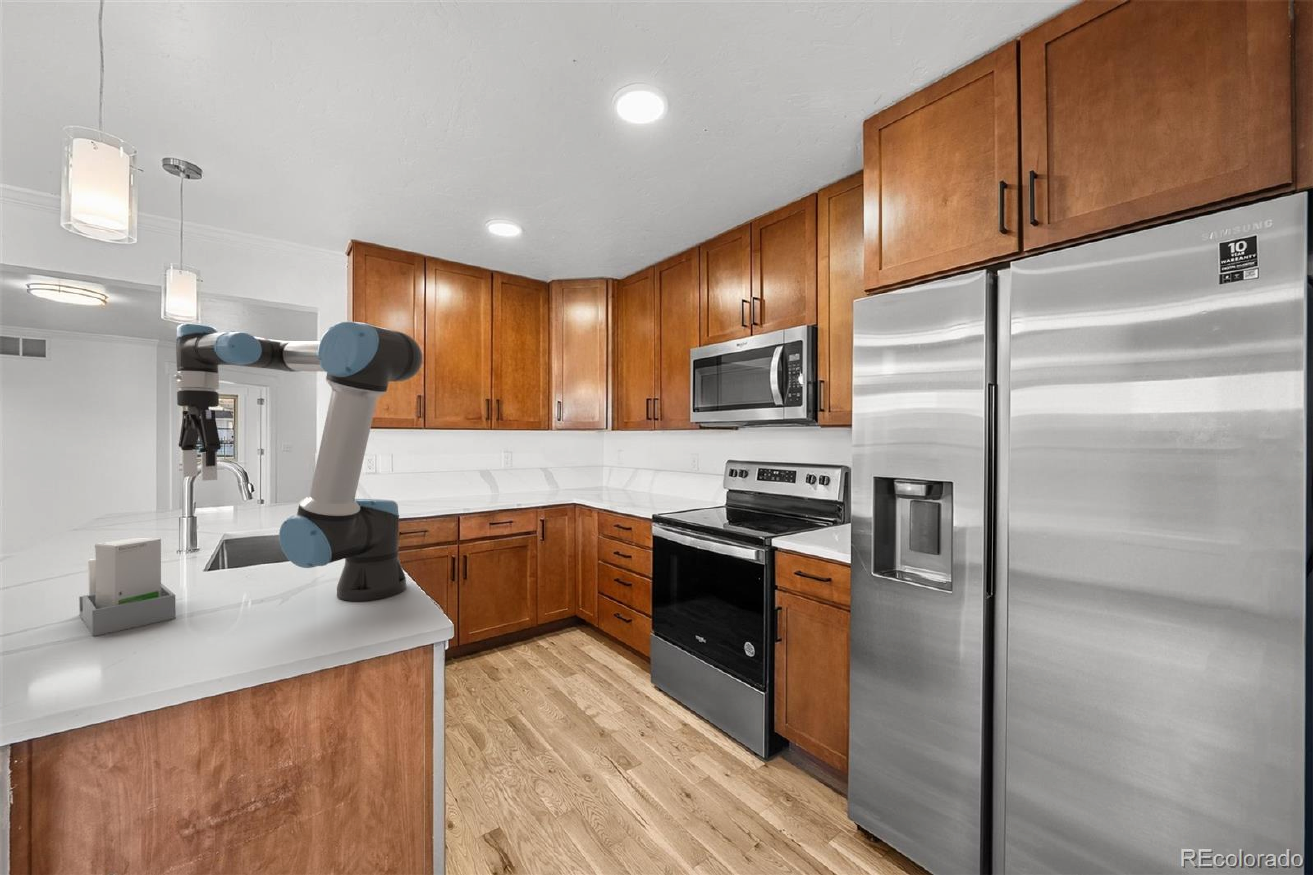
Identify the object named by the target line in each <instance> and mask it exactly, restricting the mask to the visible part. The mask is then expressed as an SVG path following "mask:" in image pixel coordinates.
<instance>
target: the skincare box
mask: <svg viewBox="0 0 1313 875" xmlns="http://www.w3.org/2000/svg"><path fill="white" fill-rule="evenodd" d="M94 548H95V559H96V603H95V608H96V609H100V608H105V607H111V606H116V605H121V604H126V603H132V602H137V601H142V600H147V599H153V598H158V597H161V583H162V538H157V537H141V536H140V537H136V538H130V539H129V538H127V539H121V540H113V541H106V542H99V543H95V544H94Z"/></svg>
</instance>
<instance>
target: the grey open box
mask: <svg viewBox="0 0 1313 875" xmlns="http://www.w3.org/2000/svg"><path fill="white" fill-rule="evenodd" d="M87 562H88V563H87V565H88V566H87V570H88V572H87V574H88V578H87V579H88V594H85V595H84V594H83V595H79V596H78V598H79V599H78V600H79V602H78V603H79V604H78V606H79V616H80V618H81V620H82V619H83V620H82V621H83V623H84V624H85V626H86V627H88V628H87V629H88V631H89V632H91V633H90V634H91V636H92V637H96V636H99V635H104V634H110V633H114V632H119V631H124V630H126V629H127V628H128V629H133V628H137V627H141V626H142V627H143V626H146V625H150V624H155V623H160V622H164V621H169V620H172V619H173V620H174V619H176V594H175V593H174V592H172V591H171V590H170V589H169V588H167V587H166V586H165V585H164V584H163V583H162V582H161V597H158V598H153V599H147V600H142V601H137V602H132V603H126V604H121V605H116V606H111V607H105V608H100V609H96V608H95V603H96V558H89V559H88V560H87ZM132 627H133V628H132ZM128 629H127V630H128ZM109 632H110V633H109Z"/></svg>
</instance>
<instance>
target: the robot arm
mask: <svg viewBox="0 0 1313 875" xmlns="http://www.w3.org/2000/svg"><path fill="white" fill-rule="evenodd" d="M174 342H175V351H176V352H175V353H176V354H175V355H176V374H174V376H173V378H174V379H175V380H177V382H176V384H177V388H179V390H178V391H177V392H176V396H177V397H176V398H177V399H176V404H177V406H179V407H187V409H186V410H185V409H183V410H182V413H181V414H182V420H181V421H182V422H181V428H180V435H179V442H178V447H179V448H180V449H181V455H182V456H181V460H182V461H181V462H182V465H181V467H182V469H181V470H182V473H181V475H182V478H188V477H190V478H191V477H198V474H199V473H198V452H199V453H200V461H201V462H200V463H201V464H200V466H201V467H200V469H201V470H200V471H201V473H200V474H201V476H200V477H201V478H200V479H201V481H203V482H206V481H217V480H218V451H219V450H221V449H222V448H221V447H222V446H221V440H220V436H219V430H218V425H217V421H216V411H215V409H214V410H213V409H210V408H216V407H219V405H220V402H219V401H220V400H219V398H220V396H219V394H220V393H218V391H217V390H219V389H220V380H219V379H220V377H219V376H220V374H219V366H229V365H230V366H238V367H247V368H248V367H249V368H257V369H268V370H276V371H284V372H289V373H290V372H294V373H295V372H298V373H299V372H326V377H325V381H326V382H327V383H328V385H329V386H330V388H331V392H330V393H331V394H330V398H329V404H328V409H327V411H326V412H327V413H326V418H325V422H324V427H323V431H322V434H321V435H322V436H321V441H320V445H319V450H318V455H317V459H316V464H315V469H314V474H313V478H312V482H311V483H312V484H311V488H310V492H309V495H307V496H305V497H303V498H302V499H301V500H300V501H299V503H298V508H297V513H296V515H291V516H290V517H289V518H287V519H286V520H284V521H283V522H282V524H281V526H280V529H279V533H278V538H279V545H280V548H281V551H282V552H283V553H284V556H285V557H286V559H287V560H288V561H289V562H290V563H292V564H293V565H295V566H297V567H299V568H303V569H311V568H317V567H323V566H326V565H328V564H331V563H334V562H337V561H341V560H345V561H344V565H343V568H342V571H341V573H340V574H341V575H340V577H339V580H338V582H337V585H336V597H337V599H340V600H341V601H349V602H362V601H363V602H364V601H375V600H380V599H384V598H388V597H392V596H395V595H398V594H400V593H402V592H403V591H405V590H406V588H407V579H406V578H407V577H406V576H405V575H406V574H405V572H404V570H403V567H402V564H401V562H400V558H399V536H400V534H399V533H400V532H399V528H400V527H399V526H400V524H399V519H400V515H399V505H398V503H397V502H396V501H395V500H390V499H380V498H379V499H377V498H376V499H375V498H356V496H357V490H358V487H359V481H360V476H361V472H362V468H363V463H364V458H365V455H366V451H367V446H368V445H367V444H368V441H369V438H370V437H369V436H370V432H371V427H372V423H373V418H374V413H375V409H376V405H377V401H378V398H379V397H382V396H383V395H384V394H386V393H387V391H388V387H389V383H390V382H395V383H396V382H398V383H399V382H405V381H407V380H410V379H412V378H414V377H415V376H416V375H417V374H418V373H419V372H420V370H421V368H422V364H423V353H422V349H421V348H420V346H419V344H418V342H417V341H416V340H415V339H413V338H412V337H411V336H410V335H408V334H407V333H404V332H400V331H396V330H392V329H389V328H384V327H380V326H375V325H372V324H368V323H367V322H360V321H359V322H357V321H350V320H349V321H348V320H347V321H341V322H337V323H335V324H334V325H333V326H330V327H329V328H328V329H327V330H326V331H325V332H324V333H323V335H322V336H321V338H320V341H309V340H308V341H305V340H303V341H302V340H301V341H300V340H299V341H298V340H297V341H293V340H277V339H270V338H265V337H258V336H254V335H252V334H250V333H248V332H246V331H245V332H243V331H232V330H231V331H225V332H219V331H218V329H217V328H215V327H214V326H212V325H211V326H210V325H207V324H205V325H204V324H199V323H198V324H197V323H195V324H194V323H192V324H191V323H183V324H179V325H178V326H177V327H176V338H175V341H174ZM198 441H199V442H200V445H201V448H199V446H198V445H197V444H198Z"/></svg>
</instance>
